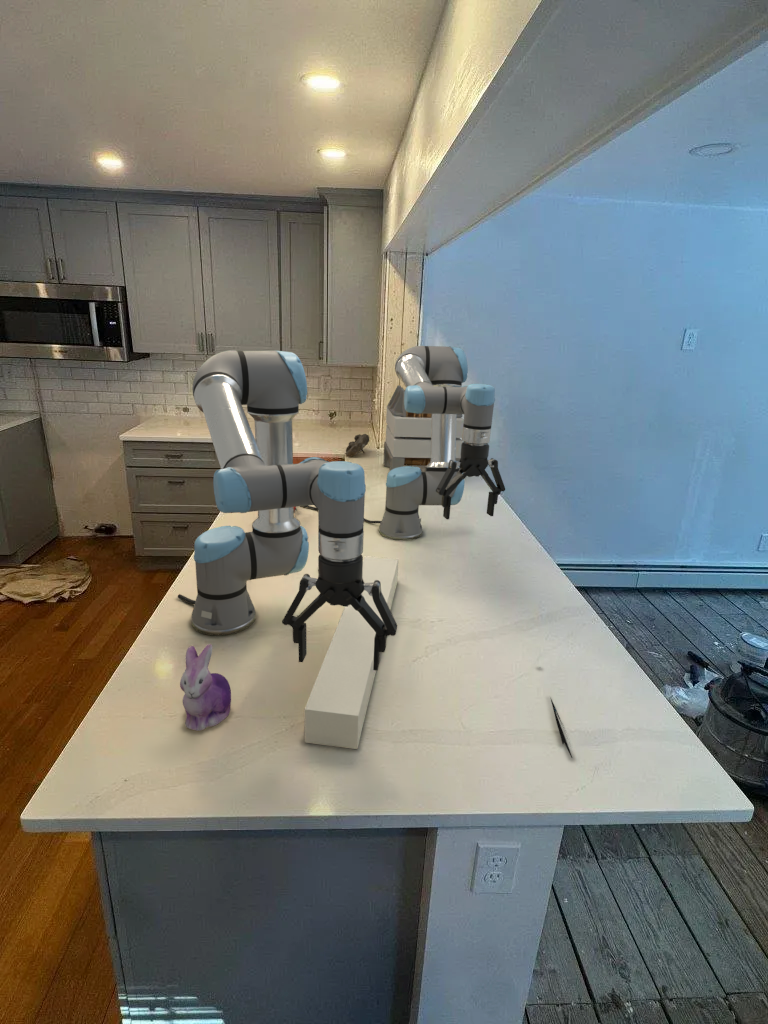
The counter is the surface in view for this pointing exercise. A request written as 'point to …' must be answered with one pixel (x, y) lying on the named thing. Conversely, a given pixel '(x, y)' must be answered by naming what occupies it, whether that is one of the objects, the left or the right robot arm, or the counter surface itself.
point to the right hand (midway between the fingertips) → (468, 516)
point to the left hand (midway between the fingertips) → (339, 662)
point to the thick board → (348, 668)
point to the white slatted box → (411, 435)
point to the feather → (560, 728)
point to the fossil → (357, 445)
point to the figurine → (204, 691)
